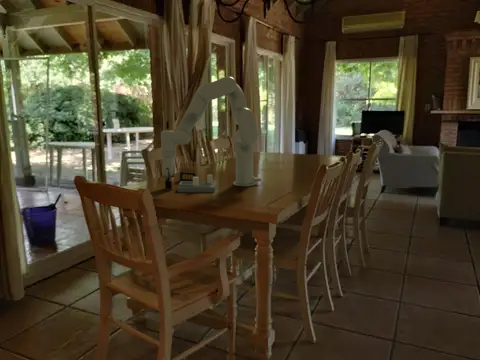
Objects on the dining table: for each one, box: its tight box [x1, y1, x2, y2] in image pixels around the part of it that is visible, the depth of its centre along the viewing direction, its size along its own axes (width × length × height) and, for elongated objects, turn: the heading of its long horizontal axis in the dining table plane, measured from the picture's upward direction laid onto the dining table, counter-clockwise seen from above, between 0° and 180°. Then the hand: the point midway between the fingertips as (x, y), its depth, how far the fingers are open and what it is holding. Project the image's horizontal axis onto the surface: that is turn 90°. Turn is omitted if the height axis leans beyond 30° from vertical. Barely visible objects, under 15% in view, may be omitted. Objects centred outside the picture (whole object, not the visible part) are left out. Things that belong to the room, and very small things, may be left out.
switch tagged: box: [206, 174, 213, 184], centre depth 214 cm, size 2×3×5 cm
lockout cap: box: [165, 176, 175, 191], centre depth 214 cm, size 4×4×6 cm
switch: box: [193, 176, 199, 186], centre depth 208 cm, size 2×3×5 cm
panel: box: [177, 181, 218, 193], centre depth 212 cm, size 19×12×4 cm, turn 89°
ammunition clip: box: [179, 160, 198, 182], centre depth 235 cm, size 11×2×12 cm, turn 70°
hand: (170, 186), depth 215 cm, fingers open, 7 cm apart
